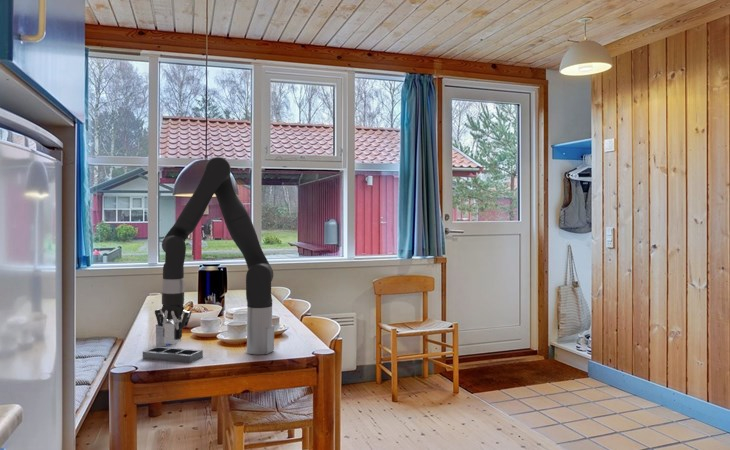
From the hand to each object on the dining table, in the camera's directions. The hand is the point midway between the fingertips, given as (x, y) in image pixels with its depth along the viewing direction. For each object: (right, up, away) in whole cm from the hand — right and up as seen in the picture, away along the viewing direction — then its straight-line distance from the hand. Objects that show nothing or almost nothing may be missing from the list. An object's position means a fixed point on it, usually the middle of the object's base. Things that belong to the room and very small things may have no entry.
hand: (172, 338), depth 184 cm
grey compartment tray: (0, -7, 0) cm, 7 cm away
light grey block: (0, -1, 0) cm, 1 cm away
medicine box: (-9, -7, +19) cm, 22 cm away
